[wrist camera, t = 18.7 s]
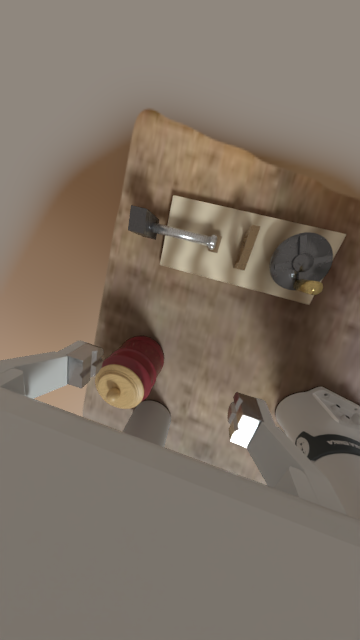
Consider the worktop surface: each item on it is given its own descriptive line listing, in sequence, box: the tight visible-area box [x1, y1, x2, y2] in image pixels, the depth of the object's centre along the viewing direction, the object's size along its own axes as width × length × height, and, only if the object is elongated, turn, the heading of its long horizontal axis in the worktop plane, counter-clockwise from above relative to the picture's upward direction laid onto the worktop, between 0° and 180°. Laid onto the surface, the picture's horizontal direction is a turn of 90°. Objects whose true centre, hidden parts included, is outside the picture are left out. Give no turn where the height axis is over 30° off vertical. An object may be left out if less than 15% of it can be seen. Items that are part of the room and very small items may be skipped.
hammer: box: [128, 205, 217, 250], centre depth 33 cm, size 17×4×7 cm, turn 76°
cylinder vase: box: [123, 400, 171, 447], centre depth 44 cm, size 12×12×25 cm
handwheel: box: [269, 232, 333, 295], centre depth 29 cm, size 10×10×6 cm
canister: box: [95, 336, 164, 409], centre depth 41 cm, size 13×13×18 cm
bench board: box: [160, 195, 346, 305], centre depth 35 cm, size 34×14×4 cm, turn 76°
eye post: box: [234, 225, 260, 271], centre depth 32 cm, size 1×7×6 cm, turn 166°
